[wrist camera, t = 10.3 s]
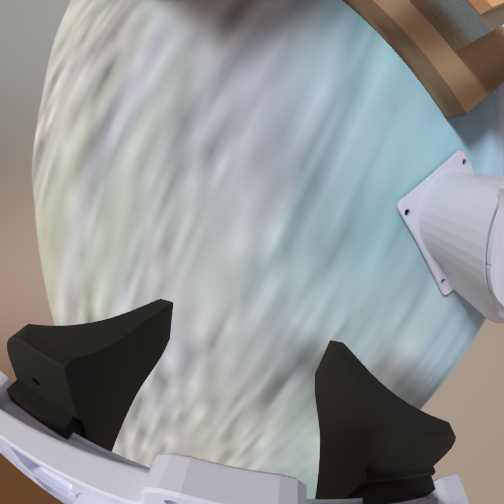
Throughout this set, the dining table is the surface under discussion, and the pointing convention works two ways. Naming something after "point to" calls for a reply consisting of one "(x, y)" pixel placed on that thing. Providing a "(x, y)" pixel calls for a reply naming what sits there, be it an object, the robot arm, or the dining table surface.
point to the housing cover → (486, 5)
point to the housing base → (459, 20)
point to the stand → (438, 55)
